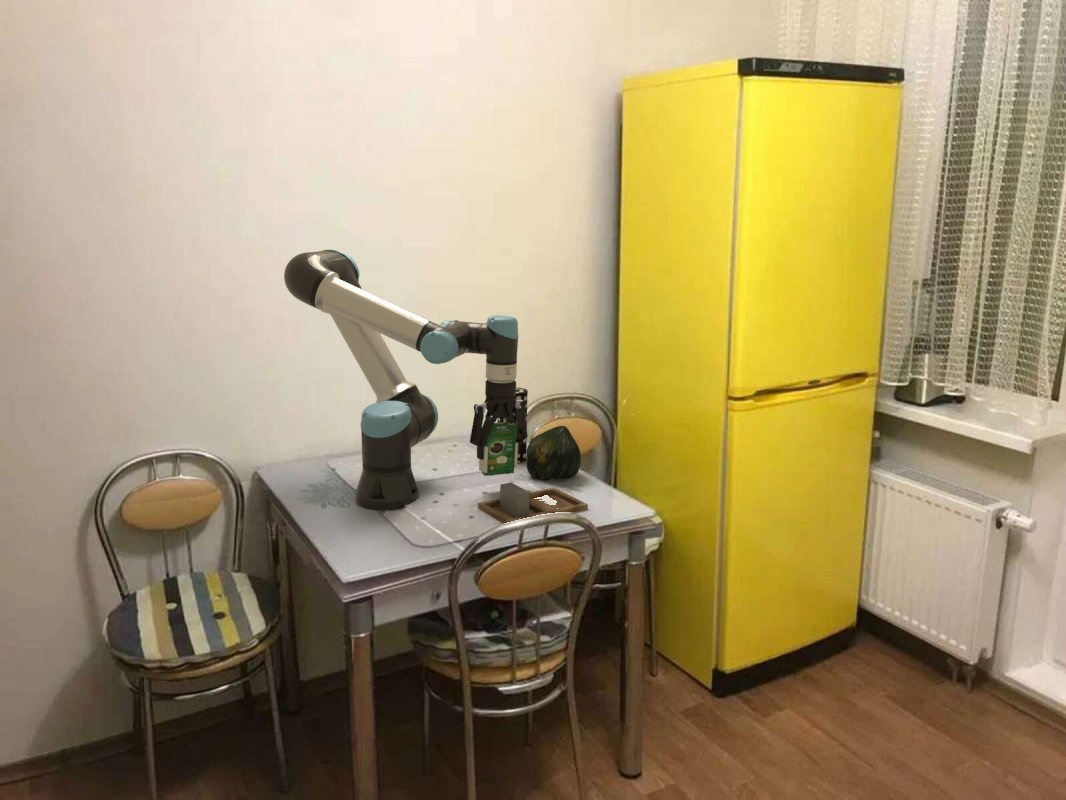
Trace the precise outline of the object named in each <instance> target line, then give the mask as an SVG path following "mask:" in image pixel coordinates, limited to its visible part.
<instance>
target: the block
mask: <svg viewBox="0 0 1066 800" xmlns="http://www.w3.org/2000/svg"><path fill="white" fill-rule="evenodd" d="M529 496H530V491H528V490H526V489H524V488H522V487H521V486H519V485H517V484H515V483H513V482H505V483H501V484H500V485H499V499H500V509H502V510H503V511H505V512H507V513H508V514H510V515H512V516H514V517H515V518H519V517H523V516H528V515H529Z"/></svg>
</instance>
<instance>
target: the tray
mask: <svg viewBox="0 0 1066 800" xmlns="http://www.w3.org/2000/svg"><path fill="white" fill-rule="evenodd" d="M529 492H530V491H529ZM544 495H548V496H549V497H550V498H552V499H553V500H556V501H557V503H556V505H549V504H546V503H544V502H545V501H539V500H542V499H534V498H537V497H542V496H544ZM557 508H558V509H557ZM477 509H478V510H480V511H482V512H484V513H485V514H486V515H488V516H490V517H492V518H493V519H495V520H496V521H498V522H500V523H502V524H503V523H507V522H511V521H515V520H519V519H523V518H527V517H532V516H536V515H541V514H547V513H555V512H574V513H578V512H583V511H587V510H588V509H589V504H588V503H587V502H585V501H582V500H580V499H578V498H576V497H574V496H572V495H569V493H566V492H564V491H562V490H560V489H558V488H556V487H550V488H546V489H540V490H536V491H532V492H530V496H529V515H528V516H523V517H519V518H515V517H514V516H512V515H510V514H508V513H507V512H505V511H503V510H502V509H500V498H496V499H492V500H486V501H482V502H477Z"/></svg>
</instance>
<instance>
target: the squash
mask: <svg viewBox="0 0 1066 800" xmlns="http://www.w3.org/2000/svg"><path fill="white" fill-rule="evenodd" d="M527 445H528V446H527V453H526V468H527V469H526V470H527V472H528V473H529V475H530V477H533V478H534V479H535V478H536V479H541V481H549V480H551V479H553V480H560V479H562V480H563V478H564V479H566V478H567V479H571V478H574V477H575V476H576V475H578V473H579V471H580V468H581V464H582V463H581V461H582V457H581V456H582V455H581V449H580V447H579V445H578V442H577V441H576V440H575V438H574V436H573V435H572V432H571V431H570V430H569V428H568V427H567V426H566V425H558V426H557V425H556V426H555V427H552V428H551V429H548V430H546V431H543V432H542V433H540V434H538V435H536V436H535V437H533V438H532V439H531V440H530V441H529V443H528V444H527ZM567 479H566V480H567Z"/></svg>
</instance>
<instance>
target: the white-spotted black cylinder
mask: <svg viewBox="0 0 1066 800" xmlns="http://www.w3.org/2000/svg"><path fill="white" fill-rule="evenodd" d="M528 391H529V390H528V389H526V388H523V387H517V386H516V395H515V399H516V400H518V399H521V400H523V401H525V402H526V406H525V417H526V426H527V427H528V394H529V392H528ZM512 411H513V414H514V419H515V422H516V424H517V418H516V407H515V406H514V408H513V409H512ZM499 422H506V419H505V417H500V418H497V423H499ZM517 428H518V426H517ZM527 441H528V437H527V438H526V439H525V438H524V439H523V442H522V443H520V453H519V454H517V464H520V463H523V462H525V461H526V462H527V448H528V446H527V445H528V443H527Z"/></svg>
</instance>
